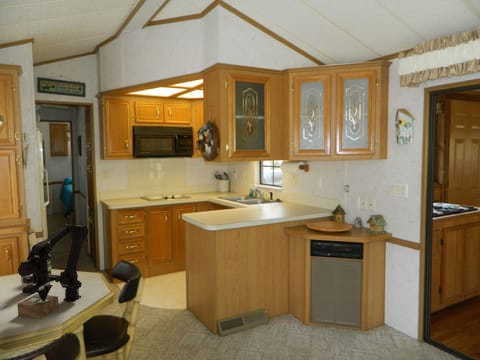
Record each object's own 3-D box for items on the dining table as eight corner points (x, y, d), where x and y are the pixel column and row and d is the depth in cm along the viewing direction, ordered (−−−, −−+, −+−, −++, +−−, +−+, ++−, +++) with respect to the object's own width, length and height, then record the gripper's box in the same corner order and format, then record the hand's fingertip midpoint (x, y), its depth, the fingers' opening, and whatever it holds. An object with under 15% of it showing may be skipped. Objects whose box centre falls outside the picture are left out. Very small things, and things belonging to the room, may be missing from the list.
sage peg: (44, 310, 186) (43, 298, 186) (50, 311, 185) (49, 299, 185) (37, 313, 183) (36, 302, 182) (44, 314, 181) (43, 303, 181)
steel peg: (33, 308, 188) (32, 297, 188) (40, 309, 187) (39, 298, 187) (27, 312, 184) (26, 300, 184) (33, 313, 183) (32, 301, 183)
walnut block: (37, 305, 192) (37, 293, 192) (58, 308, 189) (58, 296, 188) (18, 315, 181) (17, 303, 180) (39, 318, 177) (39, 306, 177)
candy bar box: (29, 288, 216) (27, 260, 214) (38, 287, 216) (37, 259, 215) (21, 295, 205) (19, 266, 203) (31, 295, 205) (29, 266, 204)
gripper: (43, 262, 193) (44, 292, 195) (11, 275, 175) (14, 307, 177) (61, 264, 190) (62, 294, 191) (31, 277, 172) (33, 309, 174)
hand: (43, 301), depth 183 cm, fingers closed, pressing on sage peg
